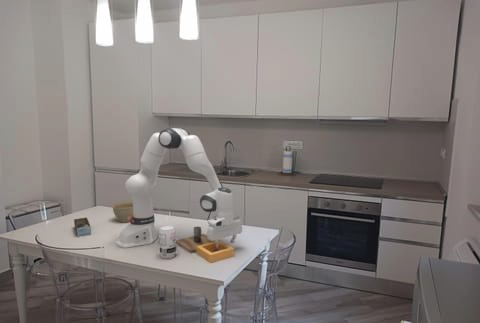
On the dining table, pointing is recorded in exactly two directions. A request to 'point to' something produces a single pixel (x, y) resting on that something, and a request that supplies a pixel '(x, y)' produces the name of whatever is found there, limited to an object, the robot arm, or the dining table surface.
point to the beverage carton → (82, 227)
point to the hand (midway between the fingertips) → (225, 244)
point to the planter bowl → (123, 211)
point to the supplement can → (167, 242)
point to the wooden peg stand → (193, 240)
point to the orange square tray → (215, 256)
